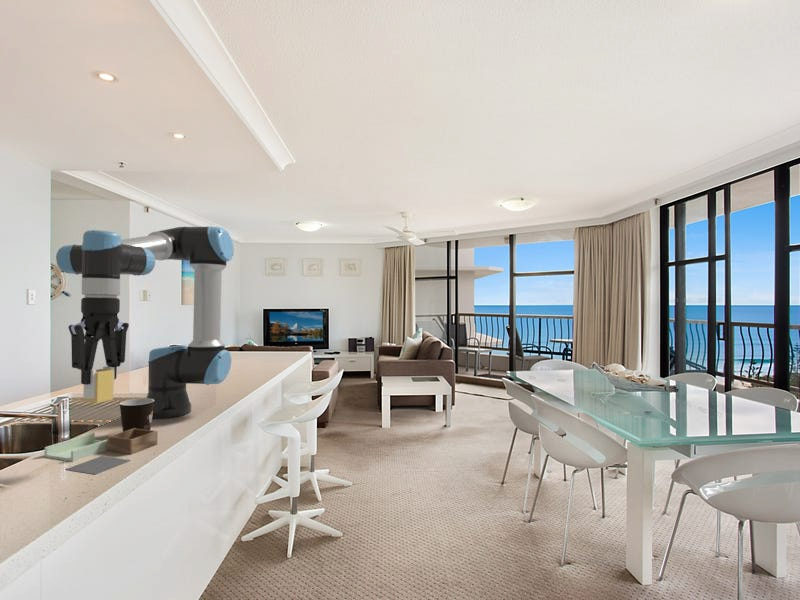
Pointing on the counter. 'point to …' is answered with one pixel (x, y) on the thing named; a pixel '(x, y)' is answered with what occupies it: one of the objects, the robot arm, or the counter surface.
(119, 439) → the walnut box
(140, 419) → the coffee mug
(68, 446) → the sage tray
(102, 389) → the yellow block
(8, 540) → the counter surface
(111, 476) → the counter surface
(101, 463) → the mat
